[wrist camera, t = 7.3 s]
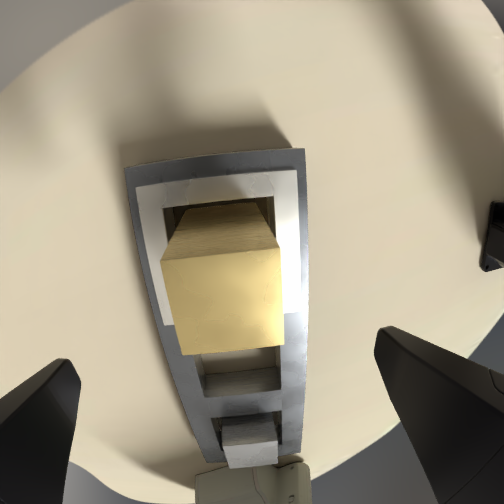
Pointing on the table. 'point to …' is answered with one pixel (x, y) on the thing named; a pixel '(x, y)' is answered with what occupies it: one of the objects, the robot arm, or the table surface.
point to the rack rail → (293, 283)
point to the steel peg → (250, 440)
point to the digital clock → (255, 485)
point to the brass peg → (224, 280)
